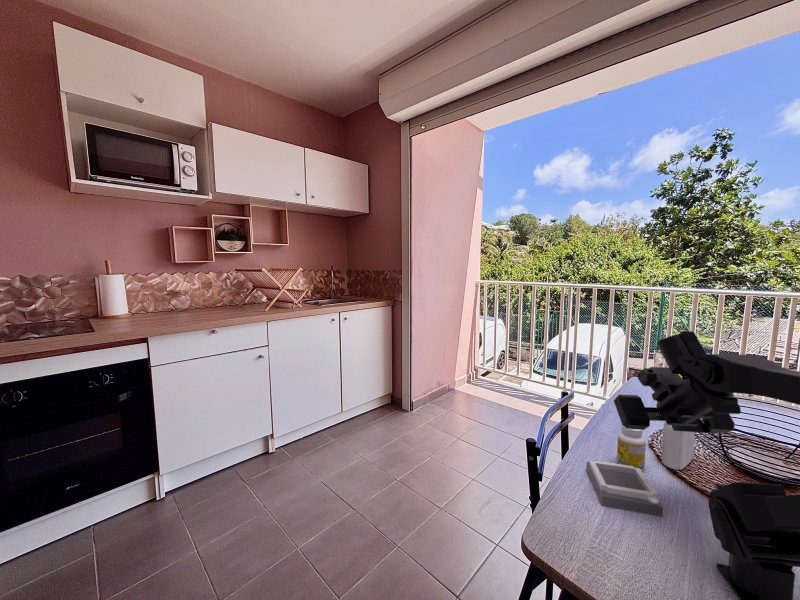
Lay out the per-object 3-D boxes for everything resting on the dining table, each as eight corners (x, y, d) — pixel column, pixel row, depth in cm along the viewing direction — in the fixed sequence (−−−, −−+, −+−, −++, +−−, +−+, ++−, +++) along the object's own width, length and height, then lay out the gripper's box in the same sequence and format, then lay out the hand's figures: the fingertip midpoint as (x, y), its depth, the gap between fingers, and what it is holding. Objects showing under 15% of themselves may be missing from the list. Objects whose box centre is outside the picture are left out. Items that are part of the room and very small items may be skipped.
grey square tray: (662, 516, 59) (663, 500, 59) (602, 505, 62) (602, 490, 62) (636, 477, 71) (637, 463, 71) (586, 469, 74) (586, 456, 74)
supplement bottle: (648, 474, 72) (650, 433, 71) (620, 469, 74) (622, 430, 73) (639, 461, 77) (641, 423, 76) (613, 456, 79) (615, 420, 78)
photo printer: (673, 450, 81) (676, 404, 80) (695, 458, 78) (698, 410, 77) (658, 464, 76) (661, 414, 75) (681, 473, 72) (684, 421, 71)
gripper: (726, 359, 60) (679, 393, 72) (620, 357, 63) (592, 390, 75) (764, 417, 53) (705, 444, 65) (643, 412, 56) (608, 439, 67)
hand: (650, 427), depth 68 cm, fingers open, 9 cm apart
